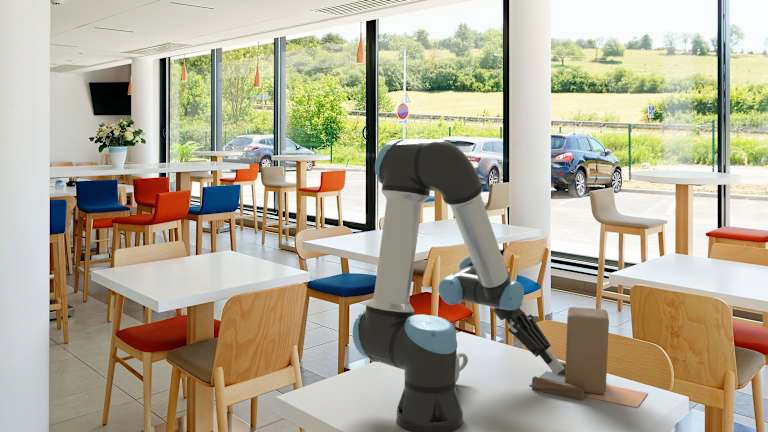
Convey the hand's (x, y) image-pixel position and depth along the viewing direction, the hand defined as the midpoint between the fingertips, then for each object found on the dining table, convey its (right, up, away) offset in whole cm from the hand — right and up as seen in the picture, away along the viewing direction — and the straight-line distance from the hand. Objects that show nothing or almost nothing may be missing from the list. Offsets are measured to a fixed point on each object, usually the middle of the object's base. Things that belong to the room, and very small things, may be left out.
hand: (560, 371), depth 176 cm
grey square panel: (+1, -3, -1) cm, 4 cm away
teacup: (-31, -3, -1) cm, 31 cm away
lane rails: (+2, -3, -1) cm, 4 cm away
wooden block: (+6, -4, -3) cm, 7 cm away
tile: (+13, -4, -8) cm, 15 cm away
